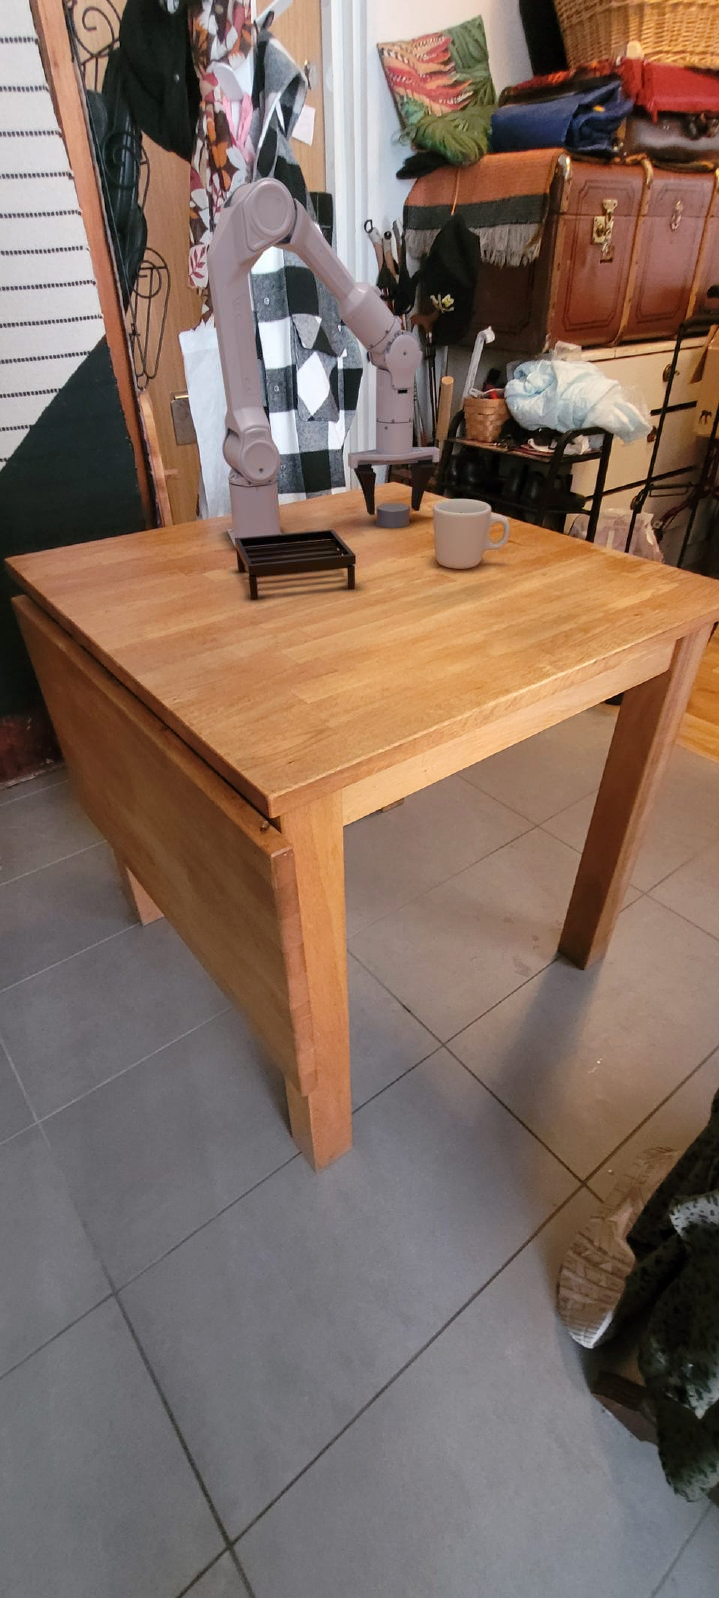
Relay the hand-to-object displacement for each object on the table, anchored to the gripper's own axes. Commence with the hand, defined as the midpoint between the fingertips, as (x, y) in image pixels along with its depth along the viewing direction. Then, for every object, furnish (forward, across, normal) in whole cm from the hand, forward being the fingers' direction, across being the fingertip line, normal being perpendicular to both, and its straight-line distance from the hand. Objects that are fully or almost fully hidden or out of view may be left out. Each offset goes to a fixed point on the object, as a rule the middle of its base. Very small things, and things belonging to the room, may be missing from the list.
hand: (393, 511), depth 126 cm
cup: (+2, -4, +23) cm, 23 cm away
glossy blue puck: (+2, 0, 0) cm, 2 cm away
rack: (+2, +21, +22) cm, 31 cm away
